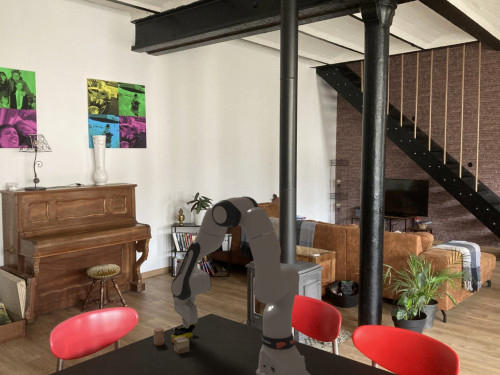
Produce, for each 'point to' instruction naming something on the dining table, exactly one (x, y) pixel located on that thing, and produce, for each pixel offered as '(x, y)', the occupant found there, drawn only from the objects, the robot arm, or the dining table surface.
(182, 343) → the maple block
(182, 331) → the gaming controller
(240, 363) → the dining table surface
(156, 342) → the terracotta cylinder
